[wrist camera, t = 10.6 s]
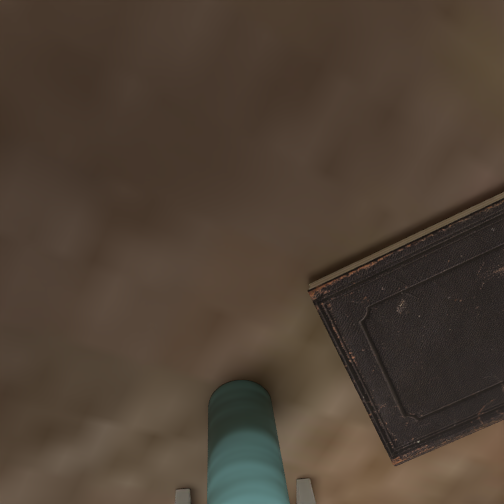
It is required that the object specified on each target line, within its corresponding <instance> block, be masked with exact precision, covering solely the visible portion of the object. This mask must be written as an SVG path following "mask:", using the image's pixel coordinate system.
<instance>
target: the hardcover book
mask: <svg viewBox="0 0 504 504" xmlns="http://www.w3.org/2000/svg"><path fill="white" fill-rule="evenodd" d="M309 286H310V287H309V290H308V293H309V295H310V297H311V299H312V301H313V303H314V305H315V307H316V309H317V311H318V313H319V315H320V317H321V319H322V321H323V323H324V325H325V327H326V329H327V331H328V333H329V335H330V337H331V339H332V341H333V343H334V345H335V347H336V350H337V352H338V354H339V356H340V358H341V360H342V362H343V364H344V366H345V368H346V370H347V372H348V374H349V376H350V378H351V380H352V382H353V384H354V386H355V388H356V390H357V392H358V394H359V396H360V398H361V400H362V402H363V404H364V406H365V408H366V410H367V412H368V414H369V416H370V418H371V421H372V423H373V425H374V427H375V429H376V431H377V433H378V435H379V437H380V439H381V441H382V443H383V445H384V447H385V449H386V451H387V453H388V455H389V457H390V459H391V461H392V463H393V465H394V466H397V465H400V464H402V463H404V462H407V461H409V460H411V459H413V458H416V457H418V456H420V455H423V454H425V453H427V452H430V451H432V450H434V449H437V448H439V447H441V446H444V445H446V444H448V443H451V442H453V441H455V440H458V439H460V438H462V437H465V436H467V435H469V434H472V433H474V432H476V431H479V430H481V429H483V428H485V427H488V426H490V425H492V424H495V423H497V422H499V421H502V420H504V192H503V193H501V194H499V195H496V196H494V197H492V198H490V199H488V200H486V201H484V202H482V203H480V204H477V205H475V206H473V207H471V208H469V209H467V210H465V211H463V212H461V213H458V214H456V215H454V216H452V217H450V218H448V219H446V220H444V221H442V222H439V223H437V224H435V225H433V226H431V227H429V228H427V229H425V230H422V231H420V232H418V233H416V234H414V235H412V236H410V237H408V238H406V239H403V240H401V241H399V242H397V243H395V244H393V245H391V246H389V247H387V248H384V249H382V250H380V251H378V252H376V253H374V254H372V255H370V256H368V257H365V258H363V259H361V260H359V261H357V262H355V263H353V264H351V265H349V266H346V267H344V268H342V269H340V270H338V271H336V272H334V273H332V274H330V275H327V276H325V277H323V278H321V279H319V280H317V281H315V282H313V283H310V284H309Z"/></svg>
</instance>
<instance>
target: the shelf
mask: <svg viewBox="0 0 504 504" xmlns="http://www.w3.org/2000/svg"><path fill="white" fill-rule="evenodd" d="M175 504H191V496H190V489H179V490H176V497H175ZM296 504H316V502H315V498H314V494H313V490H312V485H311V481H310V478H308V479H297V501H296Z"/></svg>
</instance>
